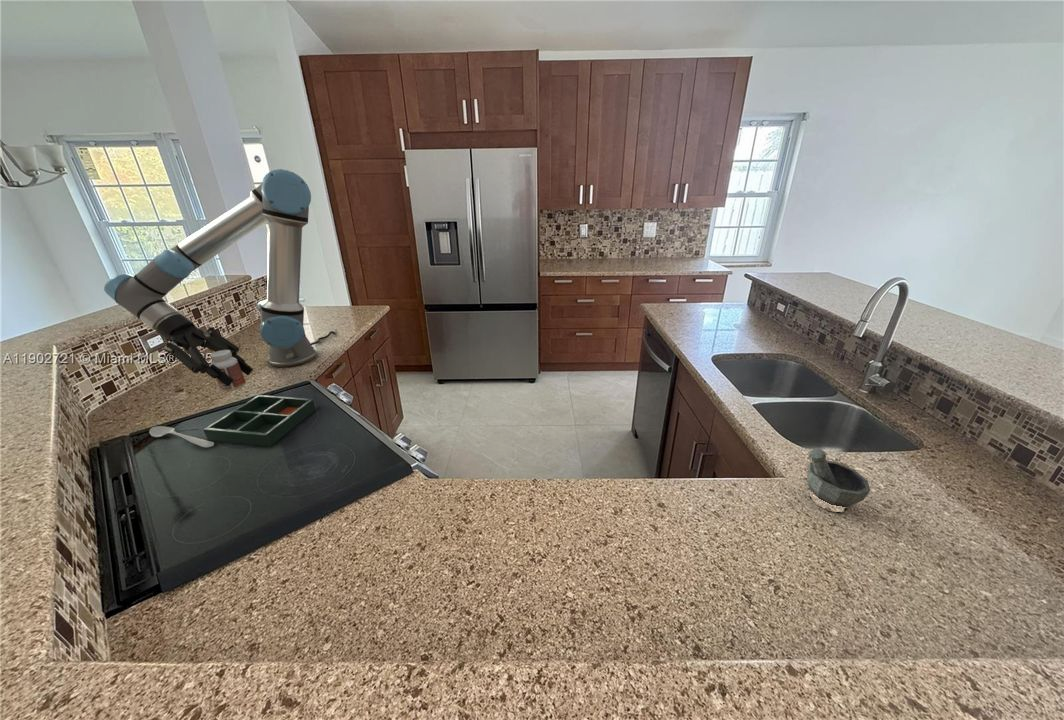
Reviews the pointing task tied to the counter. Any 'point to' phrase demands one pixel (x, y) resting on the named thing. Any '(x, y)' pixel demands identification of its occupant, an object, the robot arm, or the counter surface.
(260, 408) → the grid
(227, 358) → the pill bottle
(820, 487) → the mortar and pestle
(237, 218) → the robot arm
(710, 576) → the counter surface
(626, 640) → the counter surface
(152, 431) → the spoon
